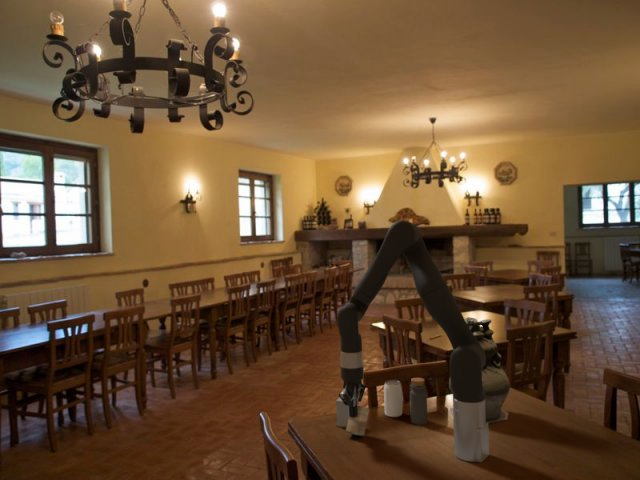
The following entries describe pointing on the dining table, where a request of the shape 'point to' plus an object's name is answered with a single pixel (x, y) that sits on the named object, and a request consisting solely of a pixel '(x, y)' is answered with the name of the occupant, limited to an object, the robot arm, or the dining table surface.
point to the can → (393, 398)
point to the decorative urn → (490, 372)
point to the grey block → (342, 413)
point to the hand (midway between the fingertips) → (353, 416)
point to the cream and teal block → (358, 422)
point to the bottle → (418, 402)
